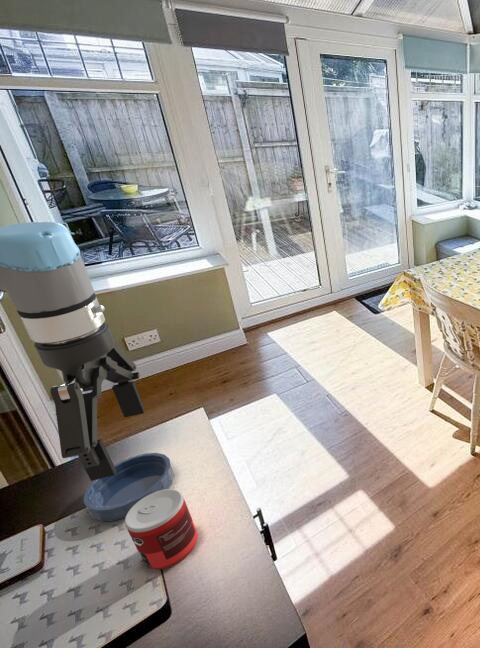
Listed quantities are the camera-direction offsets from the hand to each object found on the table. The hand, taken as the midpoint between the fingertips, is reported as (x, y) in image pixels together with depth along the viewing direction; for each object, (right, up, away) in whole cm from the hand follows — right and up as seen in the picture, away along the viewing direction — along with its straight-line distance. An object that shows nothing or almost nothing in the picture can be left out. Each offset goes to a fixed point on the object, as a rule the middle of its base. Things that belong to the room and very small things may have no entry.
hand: (120, 442), depth 67 cm
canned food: (+2, -23, +8) cm, 25 cm away
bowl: (-15, -18, +18) cm, 30 cm away
